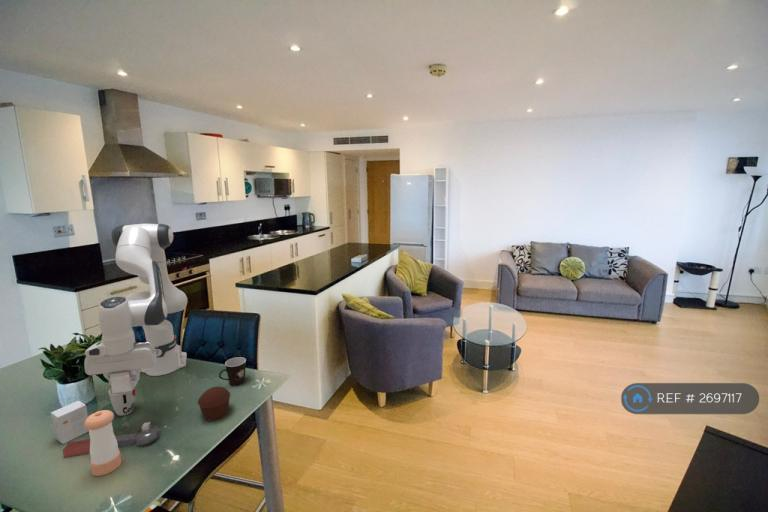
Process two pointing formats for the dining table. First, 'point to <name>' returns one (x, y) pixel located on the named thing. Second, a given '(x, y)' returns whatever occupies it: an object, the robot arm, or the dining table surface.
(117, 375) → the light grey cube
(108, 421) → the pepper shaker
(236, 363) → the coffee mug
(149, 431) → the ratchet
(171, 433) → the dining table surface
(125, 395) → the cup
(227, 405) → the muffin
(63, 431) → the small box
